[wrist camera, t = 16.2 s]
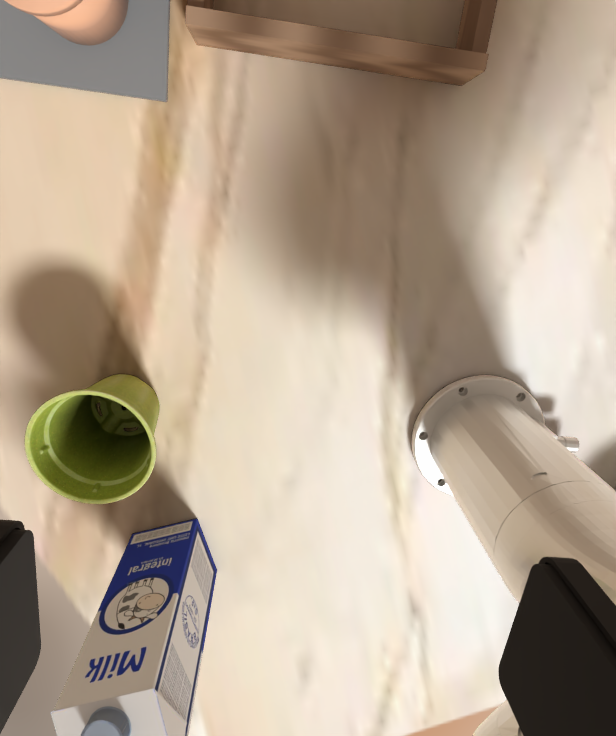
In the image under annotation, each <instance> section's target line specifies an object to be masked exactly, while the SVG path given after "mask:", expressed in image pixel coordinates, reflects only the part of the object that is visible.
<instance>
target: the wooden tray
mask: <svg viewBox="0 0 616 736" xmlns="http://www.w3.org/2000/svg"><path fill="white" fill-rule="evenodd" d="M496 3H497V0H465V2H464V7H463V13H462V18H461V23H460V29H459V34H458V39H457V44H456V49H454V48H448V47H442V46H436V45H430V44H423V43H417V42H411V41H405V40H398V39H392V38H386V37H380V36H374V35H367V34H361V33H355V32H349V31H343V30H336V29H330V28H324V27H318V26H312V25H305V24H299V23H293V22H287V21H281V20H274V19H268V18H262V17H256V16H250V15H243V14H237V13H231V12H225V11H219V10H213V0H188V5H186V20H185V24H186V26H187V28H188V29H189V31H190V33H191V35H192V37H193V39H194V41H195V42H196V44H197V45H201V46H208V47H214V48H221V49H227V50H234V51H240V52H247V53H253V54H260V55H266V56H272V57H279V58H285V59H292V60H298V61H305V62H311V63H318V64H324V65H331V66H337V67H344V68H350V69H357V70H363V71H370V72H376V73H383V74H389V75H396V76H402V77H408V78H415V79H421V80H428V81H434V82H441V83H447V84H454V85H460V86H462V85H464V84H465V83H467V82H468V81H470V80H472V79H473V78H475V77H476V76H478V75H479V74H481V73H483V72H484V71H485V69H486V64H487V59H488V54H486V52H487V47H488V42H489V37H490V32H491V28H492V23H493V18H494V13H495V8H496Z"/></svg>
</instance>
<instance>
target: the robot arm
mask: <svg viewBox="0 0 616 736" xmlns="http://www.w3.org/2000/svg"><path fill="white" fill-rule="evenodd" d="M460 388H462V389H461V390H459V389H460ZM517 394H518V395H517ZM421 432H423V433H422V434H420V433H421ZM578 449H579V441H578V439H577V438H575V437H565V436H561V437H558V436H557V435H555V434H554V433H553V432H552V431H551V430H550V429H548V428H547V427H546V426H545V420H544V417H543V413H542V410H541V408H540V406H539V404H538V403H537V401H536V400H535V398H534V397H533V396H532V395H531V394H530V393H529V392H528V391H527V390H525V389H524V388H523V387H522V386H520V385H519V384H517V383H515V382H513V381H511V380H509V379H506V378H503V377H499V376H491V375H480V376H471V377H468V378H464V379H460V380H458V381H456V382H454V383H451V384H449V385H447V386H446V387H444V388H443V389H441V390H440V391H439V392H437V393H436V394H435V395H434V396H433V397H432V398H431V399H430V400H429V401H428V402H427V403H426V405H425V406H424V407H423V409H422V410H421V411H420V413H419V416H418V418H417V420H416V422H415V425H414V429H413V433H412V451H413V456H414V459H415V461H416V464H417V466H418V468H419V470H420V471H421V473H422V475H423V476H424V477H425V478H426V480H427V481H428V482H429V483H430V484H431V485H433V486H434V487H435V488H437V489H438V490H440V491H443V492H445V493H447V494H450V495H453V496H454V498H455V500H456V501H457V503H458V505H459V507H460V508H461V510H462V512H463V513H464V515H465V517H466V519H467V520H468V522H469V524H470V525H471V527H472V529H473V531H474V532H475V534H476V536H477V537H478V539H479V541H480V543H481V544H482V546H483V548H484V549H485V551H486V553H487V555H488V556H489V558H490V560H491V561H492V563H493V565H494V567H495V568H496V570H497V572H498V573H499V575H500V576H501V578H502V580H503V581H504V583H505V585H506V586H507V588H508V590H509V591H510V593H511V594H512V595H513V597H514V598H515V599H516V600H517V601H518V602H519V606H518V610H517V613H516V616H515V619H514V622H513V625H512V628H511V631H510V634H509V637H508V640H507V643H506V646H505V649H504V652H503V655H502V658H501V661H500V665H499V680H500V684H501V687H502V690H503V692H504V694H505V696H506V698H507V700H506V701H505V702H504V703H502V704H501V705H500V706H499V707H498V708H497V709H496V710H495V711H493V712H492V713H491V714H490V715H489V716H488V717H487V718H486V719H485V720H484V721H483V722H482V723H481V724H480V725H479V727H478V728H477V729H476V730H475V732H474V734H473V735H472V736H616V491H615V490H614V489H613V488H612V487H611V486H610V485H608V484H607V483H606V482H605V481H604V480H603V479H602V478H600V477H599V476H598V475H597V474H596V473H595V472H593V471H592V470H591V469H590V468H589V467H588V466H587V465H585V464H584V463H583V462H582V461H581V460H580V459H579V458H577V457H576V456H575V455H574V454H573V453H572V452H577V451H578ZM40 649H41V638H40V623H39V609H38V595H37V580H36V566H35V550H34V537H33V533H32V531H30V530H25V529H24V525H23V523H22V522H20V521H12V520H0V733H1V731H2V729H3V728H4V726H5V724H6V722H7V719H8V718H9V716H10V714H11V712H12V710H13V709H14V707H15V705H16V703H17V701H18V699H19V697H20V695H21V693H22V691H23V689H24V688H25V686H26V684H27V682H28V680H29V678H30V676H31V674H32V672H33V670H34V669H35V666H36V664H37V661H38V658H39V654H40Z"/></svg>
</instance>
